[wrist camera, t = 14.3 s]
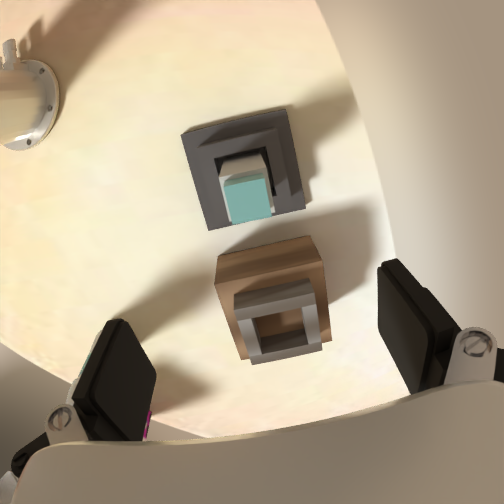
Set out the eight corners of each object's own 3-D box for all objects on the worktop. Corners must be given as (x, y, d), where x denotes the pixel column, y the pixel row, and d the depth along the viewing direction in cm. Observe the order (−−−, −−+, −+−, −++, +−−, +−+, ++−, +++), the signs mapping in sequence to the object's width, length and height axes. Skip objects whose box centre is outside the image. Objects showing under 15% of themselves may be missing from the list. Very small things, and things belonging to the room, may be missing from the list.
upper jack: (217, 256, 41) (212, 299, 32) (309, 235, 40) (329, 274, 31) (240, 326, 46) (241, 376, 37) (320, 309, 45) (337, 356, 36)
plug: (224, 158, 35) (217, 183, 24) (259, 151, 35) (268, 172, 24) (232, 191, 36) (228, 230, 26) (266, 184, 36) (277, 220, 25)
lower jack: (182, 134, 34) (175, 137, 31) (284, 109, 33) (290, 109, 30) (209, 227, 39) (206, 240, 36) (304, 206, 39) (311, 216, 35)
